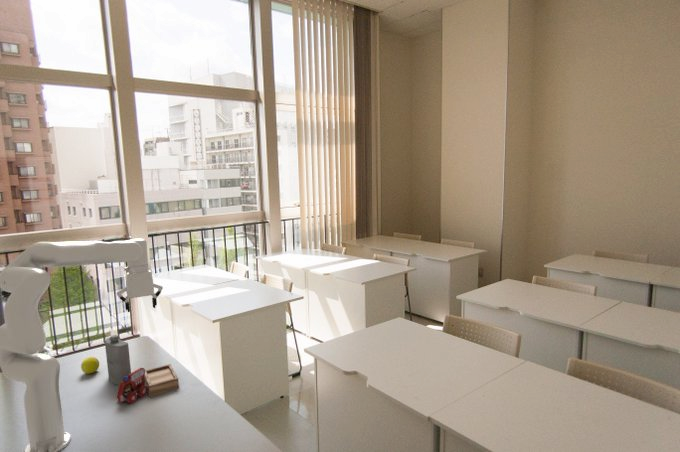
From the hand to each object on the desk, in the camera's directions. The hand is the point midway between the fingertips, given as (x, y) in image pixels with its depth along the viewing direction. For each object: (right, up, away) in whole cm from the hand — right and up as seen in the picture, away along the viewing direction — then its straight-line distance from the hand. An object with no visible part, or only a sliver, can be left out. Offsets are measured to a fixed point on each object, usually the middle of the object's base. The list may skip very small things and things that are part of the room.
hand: (141, 309), depth 175 cm
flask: (-13, -32, +7) cm, 36 cm away
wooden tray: (+7, -32, +2) cm, 33 cm away
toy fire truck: (0, -34, -8) cm, 35 cm away
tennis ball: (-30, -32, +15) cm, 46 cm away
